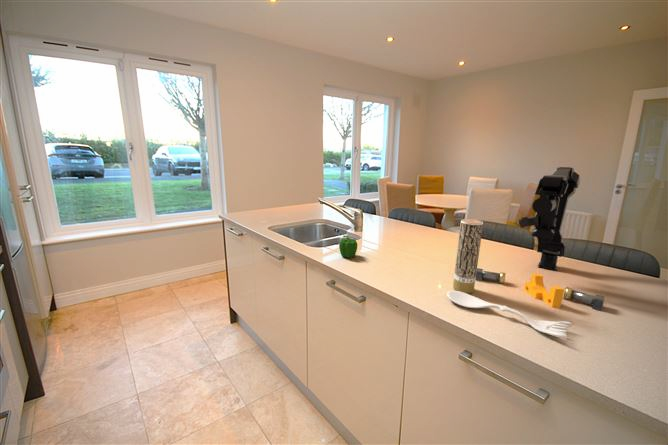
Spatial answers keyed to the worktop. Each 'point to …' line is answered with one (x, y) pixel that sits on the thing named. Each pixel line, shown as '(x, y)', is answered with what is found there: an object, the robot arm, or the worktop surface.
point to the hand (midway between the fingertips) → (540, 251)
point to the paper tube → (467, 255)
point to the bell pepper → (348, 247)
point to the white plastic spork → (542, 326)
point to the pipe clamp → (544, 291)
